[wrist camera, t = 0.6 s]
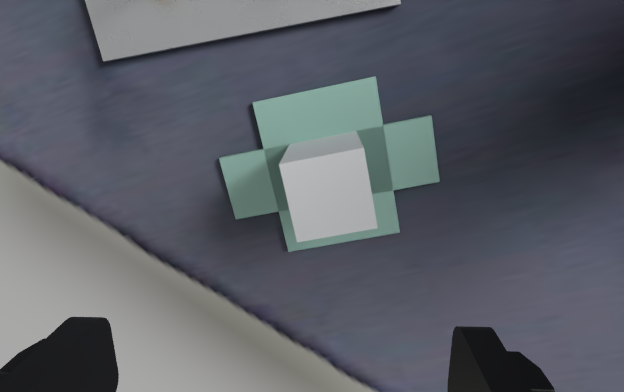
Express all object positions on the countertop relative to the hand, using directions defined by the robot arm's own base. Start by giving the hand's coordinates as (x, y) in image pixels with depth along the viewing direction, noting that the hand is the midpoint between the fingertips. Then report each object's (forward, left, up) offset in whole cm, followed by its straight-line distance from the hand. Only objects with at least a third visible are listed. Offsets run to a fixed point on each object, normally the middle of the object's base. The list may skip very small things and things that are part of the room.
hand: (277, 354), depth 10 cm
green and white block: (-1, +1, -23) cm, 23 cm away
